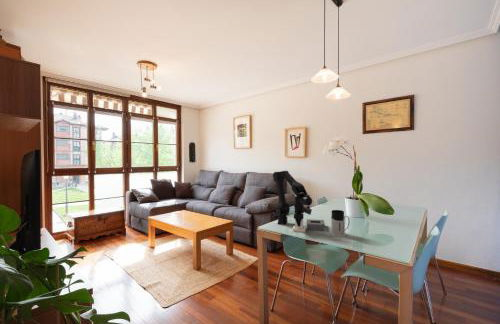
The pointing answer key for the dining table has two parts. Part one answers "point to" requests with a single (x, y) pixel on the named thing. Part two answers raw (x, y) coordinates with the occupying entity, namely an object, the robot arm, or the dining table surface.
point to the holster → (299, 229)
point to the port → (315, 224)
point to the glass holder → (338, 223)
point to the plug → (300, 224)
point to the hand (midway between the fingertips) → (299, 225)
